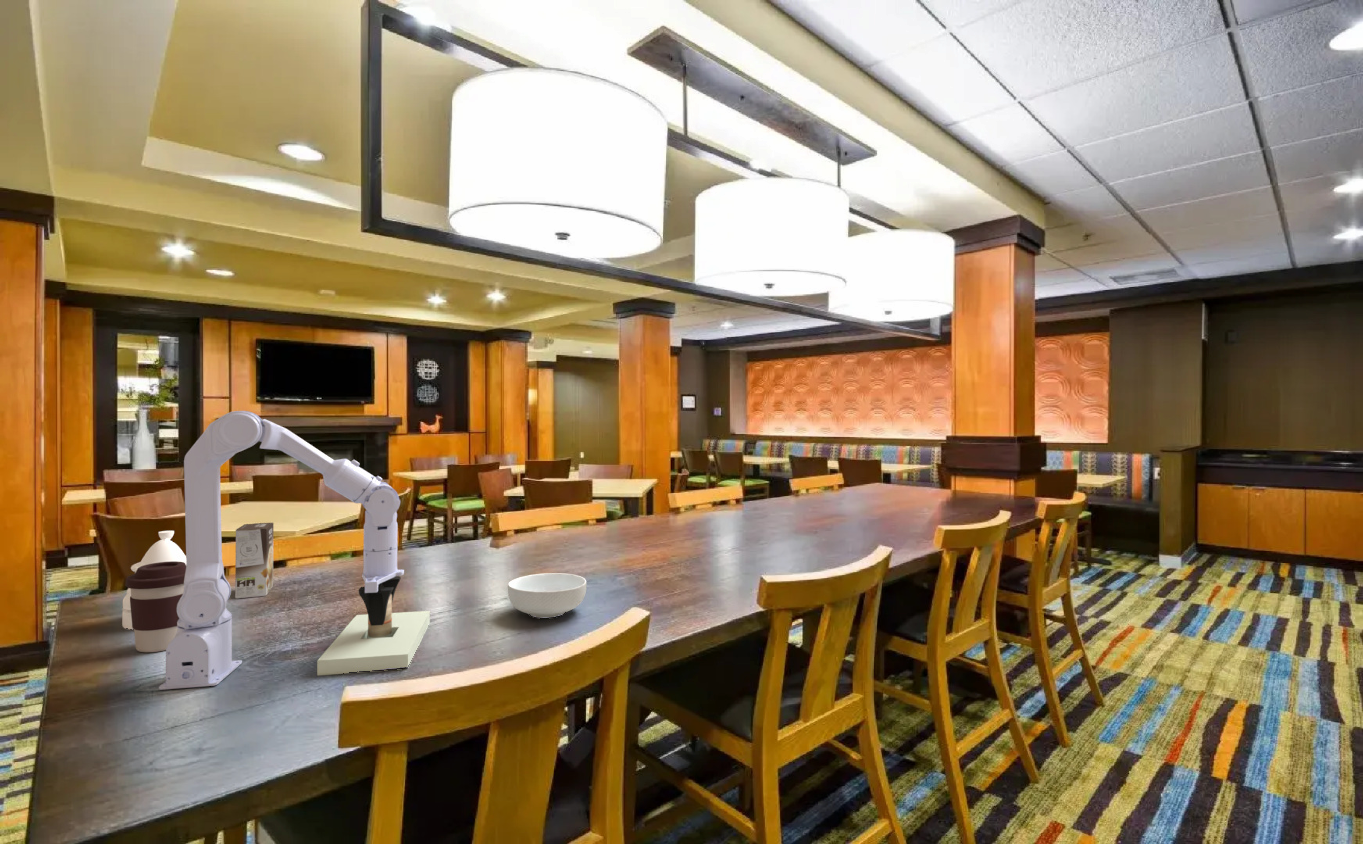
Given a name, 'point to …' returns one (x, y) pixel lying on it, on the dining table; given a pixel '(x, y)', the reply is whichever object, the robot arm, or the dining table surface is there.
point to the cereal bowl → (547, 593)
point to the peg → (386, 627)
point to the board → (374, 645)
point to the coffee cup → (155, 603)
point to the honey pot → (155, 554)
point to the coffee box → (254, 560)
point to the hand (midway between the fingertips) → (380, 620)
